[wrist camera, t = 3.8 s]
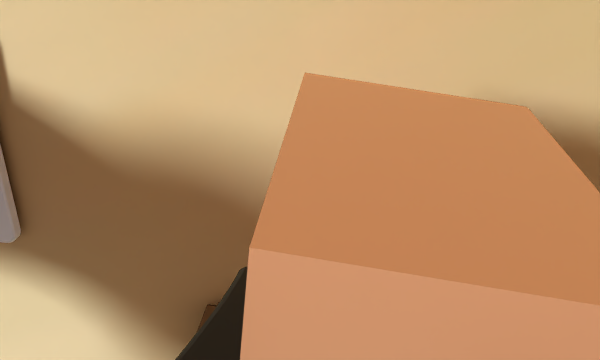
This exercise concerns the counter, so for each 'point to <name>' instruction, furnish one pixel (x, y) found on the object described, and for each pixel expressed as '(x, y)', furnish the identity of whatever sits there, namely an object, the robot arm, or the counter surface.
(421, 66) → the counter surface
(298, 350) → the terracotta cardboard box
